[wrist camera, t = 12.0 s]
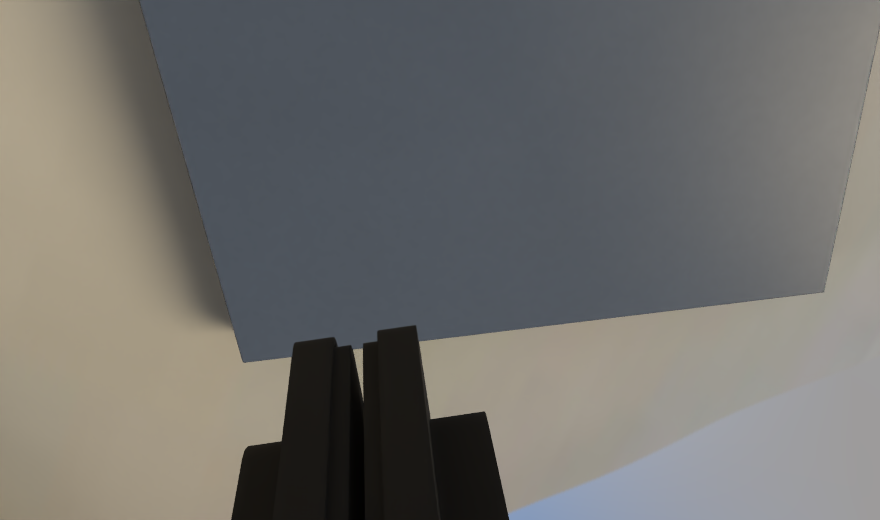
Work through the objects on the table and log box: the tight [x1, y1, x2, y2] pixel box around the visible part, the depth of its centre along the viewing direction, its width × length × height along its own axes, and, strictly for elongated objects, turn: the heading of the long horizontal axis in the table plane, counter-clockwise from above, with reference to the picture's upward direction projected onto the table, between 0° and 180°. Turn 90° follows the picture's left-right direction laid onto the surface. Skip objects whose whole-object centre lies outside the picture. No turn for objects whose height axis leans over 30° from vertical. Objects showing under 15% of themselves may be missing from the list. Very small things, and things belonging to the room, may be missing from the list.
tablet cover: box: [139, 0, 880, 363], centre depth 28 cm, size 16×23×1 cm
